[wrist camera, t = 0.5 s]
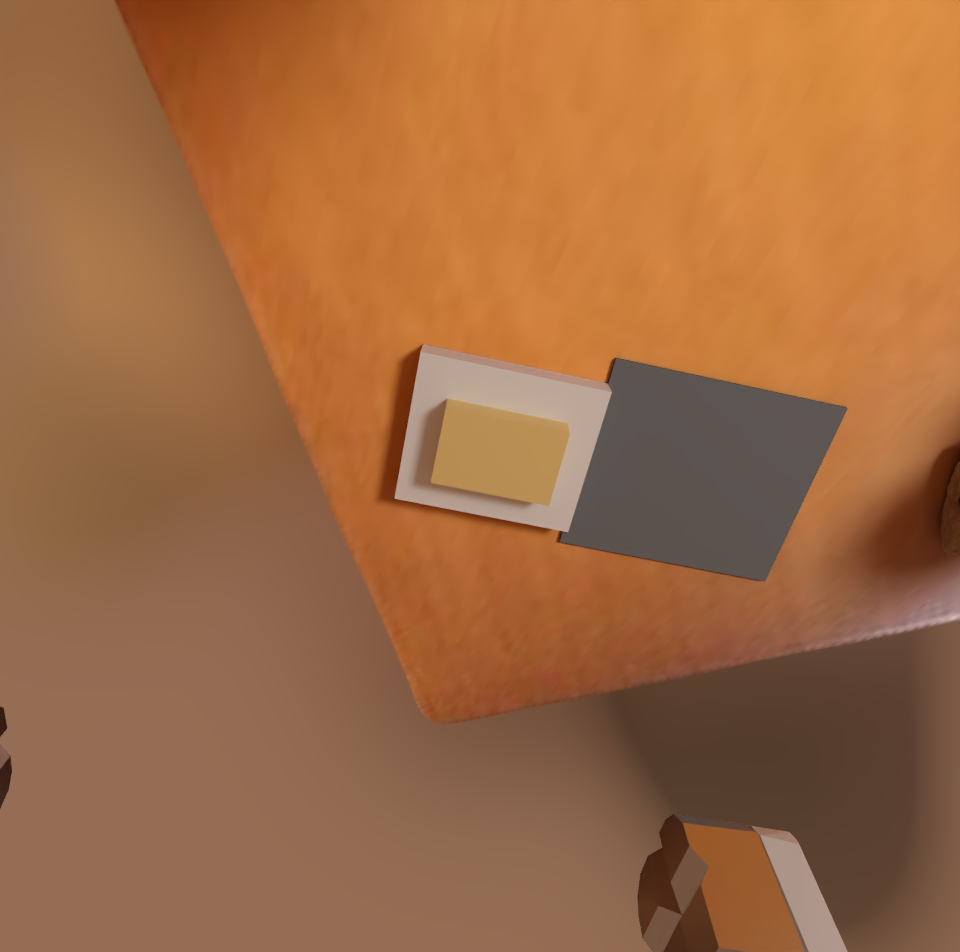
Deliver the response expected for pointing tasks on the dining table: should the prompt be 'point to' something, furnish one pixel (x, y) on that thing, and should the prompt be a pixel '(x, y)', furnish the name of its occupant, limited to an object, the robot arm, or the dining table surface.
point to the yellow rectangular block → (499, 452)
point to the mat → (699, 470)
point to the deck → (511, 392)
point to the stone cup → (952, 516)
